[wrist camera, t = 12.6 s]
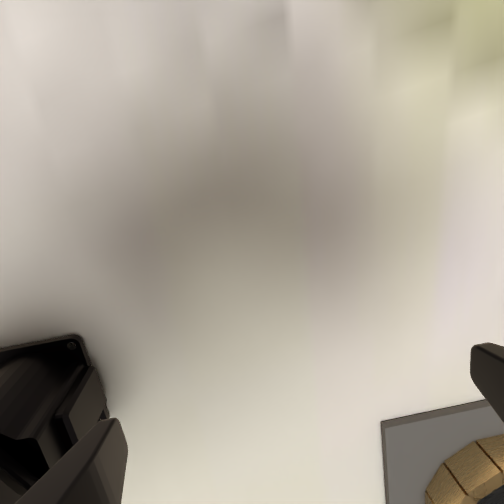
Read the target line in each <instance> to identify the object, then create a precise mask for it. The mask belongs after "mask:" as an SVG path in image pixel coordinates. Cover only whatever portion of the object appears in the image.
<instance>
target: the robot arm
mask: <svg viewBox="0 0 504 504" xmlns="http://www.w3.org/2000/svg"><path fill="white" fill-rule="evenodd" d="M70 342H73V343H75V344H76V346H72V345H71V344H70ZM470 375H471V378H472V380H473V382H474V384H475V385H476V386H477V388H478V389H479V390H480V392H481V393H482V395H483V396H484V397H485V399H486V400H487V401H488V403H489V404H490V405H491V407H492V408H493V409H494V411H495V412H496V414H497V415H498V416H499V418H500V419H501V420H502V422H503V423H504V347H503V346H500V345H497V344H493V343H482V344H477V345H474V346H473V347H472V348H471V359H470ZM105 404H106V397H105V394H104V391H103V388H102V386H101V383H100V380H99V377H98V374H97V371H96V369H95V368H94V367H93V366H92V365H91V363H90V360H89V357H88V354H87V351H86V348H85V346H84V343H83V340H82V339H81V338H80V337H79V336H77V335H69V336H64V337H58V338H53V339H48V340H43V341H37V342H32V343H27V344H22V345H17V346H11V347H6V348H1V349H0V504H121V499H122V492H123V485H124V477H125V470H126V463H127V455H128V446H127V442H126V439H125V436H124V433H123V430H122V427H121V424H120V422H119V420H118V419H117V418H110V419H109V413H108V411H107V408H106V405H105ZM99 418H100V419H102V420H99Z"/></svg>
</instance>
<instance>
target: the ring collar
mask: <svg viewBox="0 0 504 504" xmlns="http://www.w3.org/2000/svg"><path fill="white" fill-rule="evenodd" d="M444 462H445V463H446V464H445V463H442V464H441V465H440V467H439V468H438V470H437V472H436V473H435V475H434V476H433V478H432V480H431V481H430V483H429V484H428V486H427V487H426V491H425V504H476V503H477V502H478V501H479V500H480V499H482V498H484V497H485V496H487V495H488V494H490V493H491V492H493V491H494V490H496V489H497V488H499V487H500V486H502V485H504V434H501V435H496V436H492V437H487V438H483V439H478V440H476V443H475V442H474V441H473V442H471V443H470V444H468V445H467V446H465V447H464V448H462V449H461V450H459V451H458V452H456V453H455V454H453V455H452V456H450V457H449V458H448V459H446V460H445V461H444Z"/></svg>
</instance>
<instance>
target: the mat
mask: <svg viewBox="0 0 504 504" xmlns="http://www.w3.org/2000/svg"><path fill="white" fill-rule="evenodd" d="M381 429H382V445H383V460H384V476H385V492H386V504H425V491H426V487H427V486H428V484H429V483H430V481H431V480H432V478H433V476H434V475H435V473H436V472H437V470H438V468H439V467H440V465H441V464H442V463H445V462H444V461H445V460H446V459H448V458H449V457H450V456H452V455H453V454H455V453H456V452H458V451H459V450H461V449H462V448H464V447H465V446H467V445H468V444H470V443H471V442H473V441H474V442H475V443H476V440H478V439H483V438H487V437H492V436H496V435H501V434H504V423H503V422H502V420H501V419H500V418H499V416H498V415H497V414H496V412H495V411H494V409H493V408H492V407H491V405H490V404H489V403H488V401H487V400H482V401H478V402H473V403H468V404H463V405H459V406H454V407H449V408H444V409H440V410H435V411H430V412H425V413H421V414H416V415H411V416H406V417H402V418H397V419H392V420H388V421H383V422H381ZM445 464H446V463H445Z"/></svg>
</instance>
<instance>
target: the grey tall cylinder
mask: <svg viewBox="0 0 504 504" xmlns="http://www.w3.org/2000/svg"><path fill="white" fill-rule="evenodd" d="M476 504H504V485H502V486H500V487H499V488H497V489H496V490H494V491H493V492H491V493H490V494H488V495H487V496H485V497H484V498H482V499H480V500H479V501H478V502H477V503H476Z"/></svg>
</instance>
